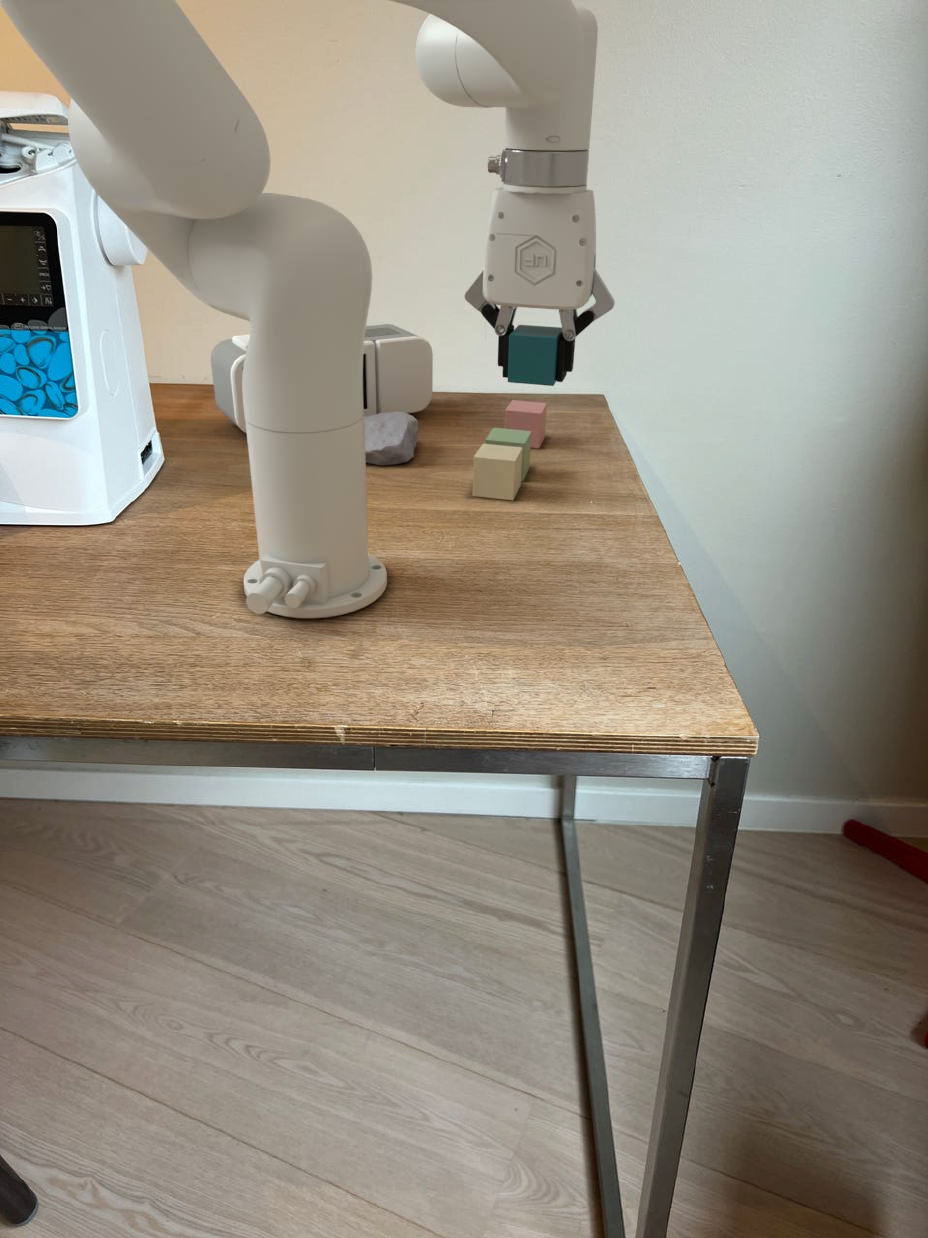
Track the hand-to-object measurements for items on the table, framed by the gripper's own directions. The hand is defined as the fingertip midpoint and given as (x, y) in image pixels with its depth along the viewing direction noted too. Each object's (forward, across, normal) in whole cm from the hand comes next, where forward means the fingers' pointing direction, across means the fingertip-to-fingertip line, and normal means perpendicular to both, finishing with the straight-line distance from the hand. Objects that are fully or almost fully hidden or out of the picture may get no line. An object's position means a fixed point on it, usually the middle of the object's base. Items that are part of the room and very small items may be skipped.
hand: (534, 374), depth 90 cm
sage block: (+15, -4, +10) cm, 18 cm away
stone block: (+15, -22, +12) cm, 29 cm away
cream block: (+15, -4, +4) cm, 16 cm away
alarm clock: (+15, -32, +22) cm, 41 cm away
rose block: (+15, -5, +22) cm, 27 cm away
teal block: (0, 0, 0) cm, 0 cm away
